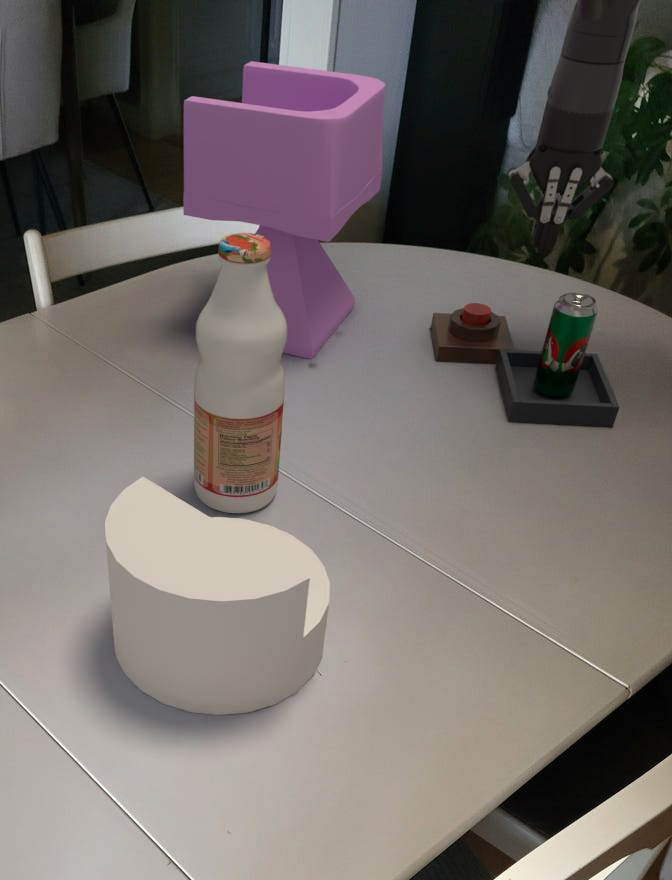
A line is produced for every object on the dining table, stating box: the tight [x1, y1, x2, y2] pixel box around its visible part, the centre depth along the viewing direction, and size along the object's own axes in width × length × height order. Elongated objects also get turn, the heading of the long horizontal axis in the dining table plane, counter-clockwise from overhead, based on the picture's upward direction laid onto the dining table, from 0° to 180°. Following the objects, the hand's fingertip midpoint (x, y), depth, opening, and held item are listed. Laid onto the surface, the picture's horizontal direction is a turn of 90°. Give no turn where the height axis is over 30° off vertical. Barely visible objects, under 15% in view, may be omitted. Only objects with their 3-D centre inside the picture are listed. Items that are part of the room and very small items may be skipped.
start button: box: [462, 302, 492, 326], centre depth 132 cm, size 4×4×2 cm
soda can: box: [533, 291, 599, 398], centre depth 121 cm, size 5×5×12 cm
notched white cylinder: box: [104, 476, 331, 716], centre depth 88 cm, size 20×20×13 cm
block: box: [430, 307, 516, 365], centre depth 134 cm, size 10×10×4 cm
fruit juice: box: [193, 232, 287, 514], centre depth 100 cm, size 9×9×28 cm
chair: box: [182, 60, 386, 360], centre depth 130 cm, size 20×20×30 cm
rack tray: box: [494, 349, 620, 428], centre depth 124 cm, size 13×14×3 cm
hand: (541, 250), depth 124 cm, fingers closed
